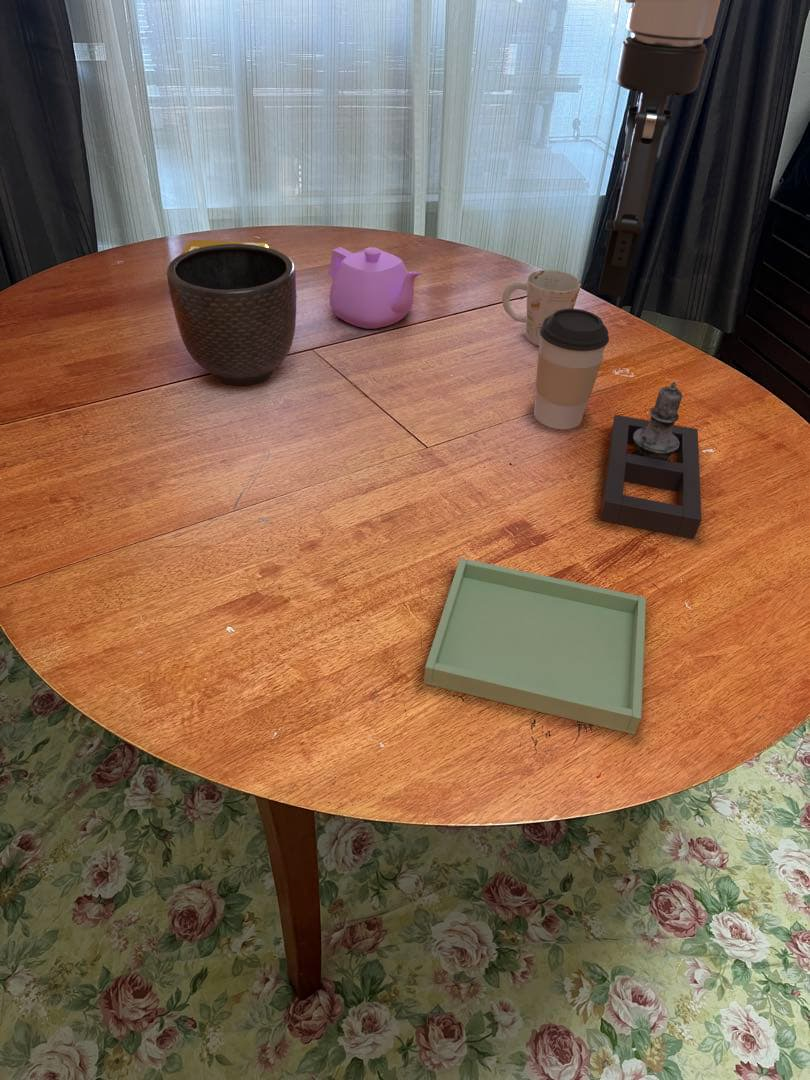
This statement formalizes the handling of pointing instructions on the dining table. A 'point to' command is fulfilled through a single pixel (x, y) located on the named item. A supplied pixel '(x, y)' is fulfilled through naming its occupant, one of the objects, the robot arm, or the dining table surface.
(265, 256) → the planter
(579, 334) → the coffee cup
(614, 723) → the tray
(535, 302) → the mug
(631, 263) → the robot arm
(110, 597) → the dining table surface
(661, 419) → the dark grey chess piece
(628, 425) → the rack
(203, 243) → the element tile
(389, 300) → the teapot
